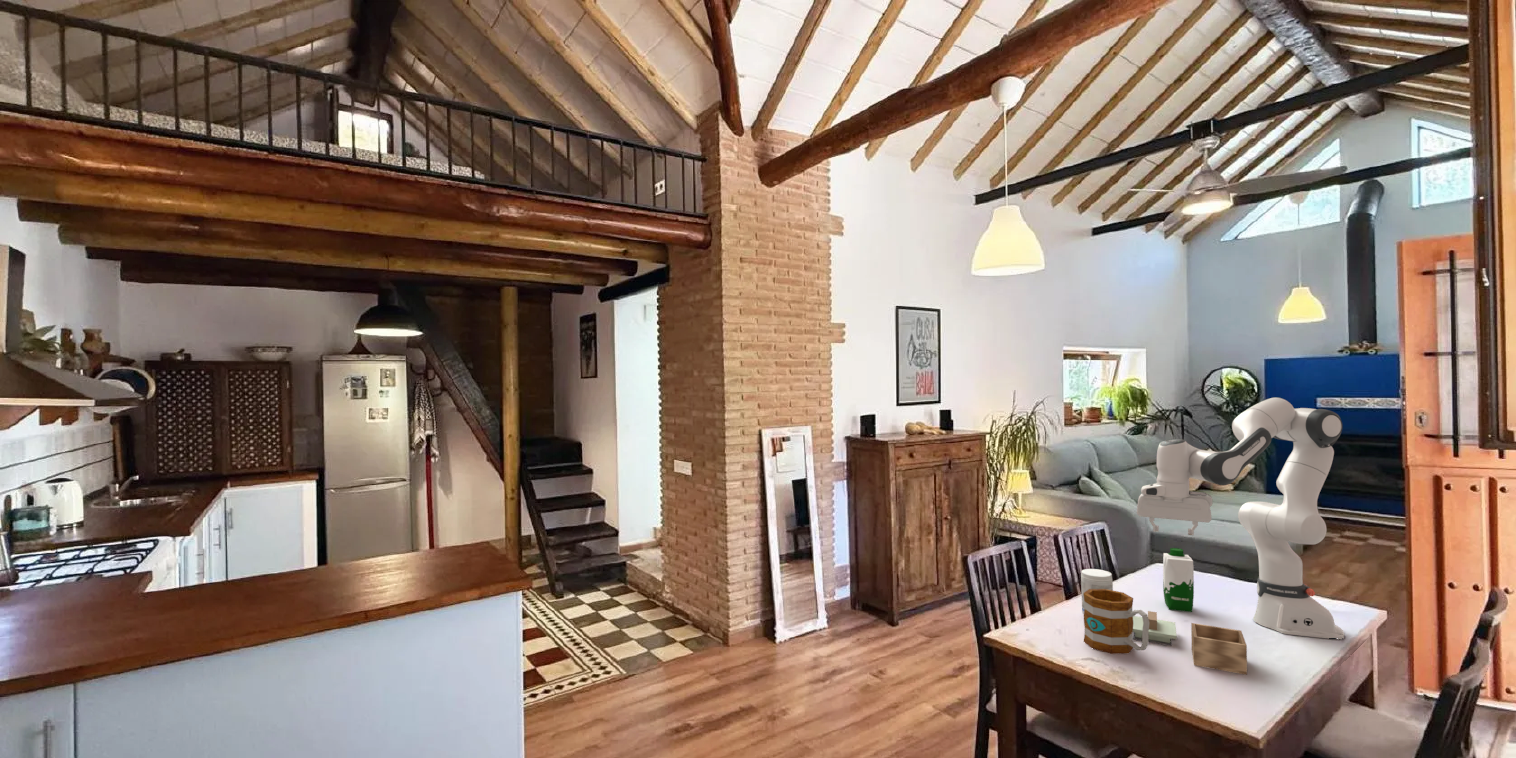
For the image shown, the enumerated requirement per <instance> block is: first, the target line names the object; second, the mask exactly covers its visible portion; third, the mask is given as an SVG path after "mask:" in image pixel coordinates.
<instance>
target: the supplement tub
mask: <svg viewBox="0 0 1516 758" xmlns="http://www.w3.org/2000/svg"><path fill="white" fill-rule="evenodd" d="M1113 581H1114V580H1113V574H1112V573H1111V572H1110V571H1107V570H1103V569H1096V568H1085V569H1082V570H1081V574H1080V585H1081V588H1080V589H1081V612H1082V614H1083V615H1084V609H1085V606H1084V595H1083V593H1084V592H1086V591H1087V590H1088V589H1108V590H1113V591H1114V587H1113V586H1114V584H1113Z"/></svg>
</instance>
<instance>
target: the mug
mask: <svg viewBox="0 0 1516 758" xmlns="http://www.w3.org/2000/svg"><path fill="white" fill-rule="evenodd" d="M1083 595H1084V606H1085V609H1084V614H1083V625H1084V636H1083V643H1084V642H1085V644H1086V645H1087V646H1088V647H1089V648H1091V649H1092V648H1093V649H1092V650H1095V649H1096V650H1095V651H1100V652H1103V653H1107V654H1111V655H1115V654H1117V655H1118V654H1121V655H1123V654H1124V655H1125V654H1128V655H1129V654H1130V653H1132V651H1133V649H1134V650H1136V651H1145V650H1146V649H1147V648H1148V646H1149V642H1148V638H1149V619H1148V613H1146V612H1145V611H1143V610H1142V609H1134V610H1133V605H1134V604H1133V603H1134V598H1133V597H1132V596H1130V595H1128V594H1127V593H1125V592H1123V591H1117V590H1114V589H1113V590H1108V589H1088V590H1087V591H1086V592H1084V593H1083ZM1137 615H1140V617H1142V618H1143V630H1142V641H1141V644H1140V645H1138V644H1137V643H1136V642H1134V641H1133V640H1134V639H1133V638H1134V637H1133V633H1134V632H1133V616H1137Z"/></svg>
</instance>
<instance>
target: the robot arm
mask: <svg viewBox="0 0 1516 758" xmlns="http://www.w3.org/2000/svg"><path fill="white" fill-rule="evenodd" d="M1343 426H1344V424H1343V422H1342V419H1341V417H1340V415H1339V414H1338V413H1337V412H1334V411H1332V410H1329V409H1323V408H1318V409H1316V408H1310V407H1309V408H1308V407H1300V408H1299V407H1298V408H1294V406H1293V404H1291V402H1289V401H1288V400H1286V399H1284V398H1281V397H1271V398H1267V399H1264V400H1262V401H1260V402H1258V403H1256V404H1254V405H1252V406H1250V407H1248V408H1247V409H1246V410H1244V411H1242V412H1241V413H1239V415H1237V416H1236V417H1235V418H1234V419H1233V420H1232V423H1231V428H1232V429H1231V430H1232V432H1233V435H1234V437H1235V438H1236V439H1237V440H1238V441H1239V442H1237V443H1236V444H1235V445H1234V446H1233V447H1232V448H1230V449H1228V450H1226V451H1212V450H1206V449H1205V450H1204V449H1200V448H1197V447H1195V446H1193V445H1192V444H1190V443H1188V442H1187V441H1186V440H1185V439H1181V438H1170V439H1166V440H1163V441H1160V443H1159V445H1158V447H1157V452H1156V469H1157V477H1156V482H1155V483H1150V484H1147V485H1143V486H1142V487H1141V489H1140V492H1141V493H1140V495H1138V499H1137V505H1136V514H1137V516H1139V518H1148V519H1149V523H1150V525H1152V527H1153V529H1152V531H1153V532H1154V533H1155V532H1156V533H1159V531H1160V530H1159V529H1160V528H1159V525H1156V523H1155V519H1161V520H1162V519H1164V520H1174V521H1185V522H1191V523H1192V526H1191V528H1187V535H1188V536H1195V534H1194V533H1195V530H1196V528H1197V527H1198V526H1199V523H1210V522H1211V521H1212V511H1211V506H1212V505H1213V496H1212V495H1210V494H1208V493H1207V492H1204V491H1201V492H1199V491H1192V490H1190V479H1194V480H1198V481H1202V482H1203V481H1204V482H1208V483H1211V484H1215V485H1218V486H1227V485H1231V484H1232V483H1234V482H1235V481H1236V480H1237V479H1238V478H1239V476H1240V475H1241V474H1242V471H1243V470H1244V469H1245V468H1246V467H1248V465H1249V464H1250V463H1252V462H1253V461H1254V460H1255V459H1256V458H1257V457H1258V456H1259V455H1260V454H1262V453H1263V452H1264V451H1265V450H1266V449H1267V448H1268V447H1269V445H1270V444H1271V442H1272V439H1273V438H1274V439H1275V440H1276V439H1277V440H1280V441H1289V442H1292V443H1293V447H1292V451H1291V453H1290V454H1289V455H1288V457H1287V459H1286V461H1285V463H1284V465H1283V467H1282V469H1281V471H1280V473H1279V475H1278V477H1277V478H1276V482H1275V483H1276V487H1277V489H1278V490H1279V492H1280V493H1282V494H1283V499H1282V503H1281V504H1277V503H1272V502H1269V501H1260V500H1259V501H1247V502H1245V503H1243V504H1242V505H1241V506H1240V508H1239V509H1238V513H1237V516H1238V521H1239V523H1240V525H1241V526H1242V527H1243V528H1244V529H1245V530H1246V531H1247V532H1248V534H1249V536H1250V537H1251V539H1252V541H1253V544H1254V546H1255V548H1256V551H1257V556H1258V575H1259V576H1258V577H1257V582H1256V592H1257V596H1258V598H1257V605H1256V609H1255V612H1254V616H1253V621H1254V622H1255V623H1256V624H1259V625H1260V626H1263V627H1266V628H1268V629H1272V630H1274V631H1277V632H1278V633H1281V634H1284V635H1292V636H1293V635H1294V636H1300V637H1301V636H1302V637H1309V638H1310V637H1311V638H1320V639H1329V638H1336V639H1335V640H1339V639H1341V640H1343V639H1345V637H1344V636H1345V631H1344V630H1343V629H1342V628H1341V627H1339V626H1338V625H1336V624H1335V619H1334V616H1333V615H1332V613H1331V612H1330V611H1329V609H1328V608H1326V607H1325V606H1324V605H1322V604H1321V603H1320V602H1319V601H1317V600H1316V599H1314V598H1312V597H1314V596H1315V595H1316V592H1315V591H1314V589H1312V588H1311V587H1310V586H1308V585H1307V584H1306V583H1305V584H1304V583H1303V560H1302V559H1301V557H1300V556H1299V555H1298V553H1296V552H1295V551H1294V550H1293V549H1292V547H1291V545H1290V544H1289V542H1291V543H1293V544H1299V545H1316V544H1319V543H1321V542H1322V541H1323V540H1324V539H1325V537H1326V536H1327V535H1326V534H1327V524H1326V522H1325V520H1324V519H1323V517H1322V516H1321V515H1320V512H1319V510H1318V499H1319V495H1320V492H1321V490H1322V488H1323V486H1324V484H1325V481H1326V479H1327V477H1328V475H1329V474H1330V473H1329V472H1330V471H1331V467H1332V464H1333V460H1334V455H1335V450H1334V448H1333V445H1334V444H1335V443H1336V442H1337V441H1338V439H1339V438H1340V436H1341V434H1342V431H1343V428H1344V427H1343ZM1337 638H1338V639H1337ZM1342 638H1343V639H1342Z"/></svg>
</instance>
